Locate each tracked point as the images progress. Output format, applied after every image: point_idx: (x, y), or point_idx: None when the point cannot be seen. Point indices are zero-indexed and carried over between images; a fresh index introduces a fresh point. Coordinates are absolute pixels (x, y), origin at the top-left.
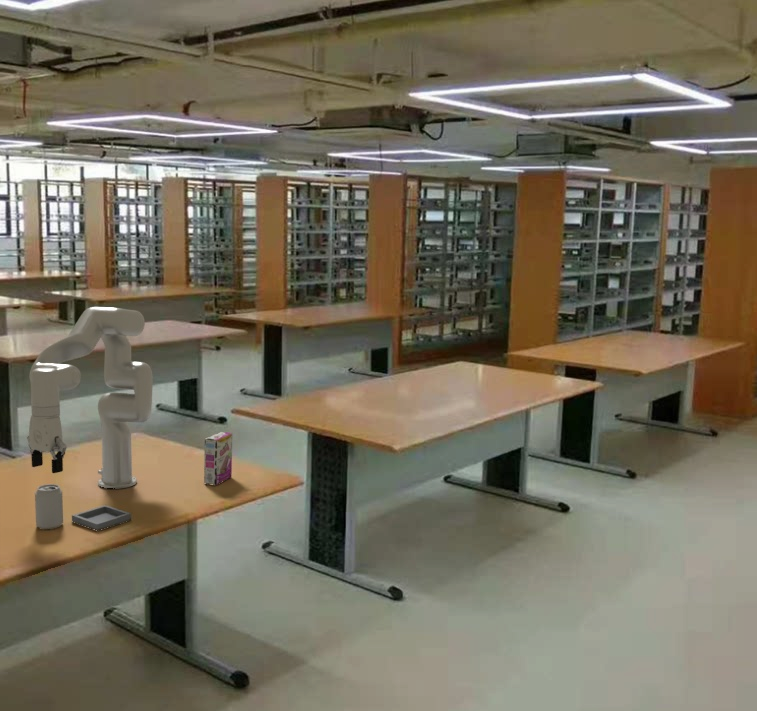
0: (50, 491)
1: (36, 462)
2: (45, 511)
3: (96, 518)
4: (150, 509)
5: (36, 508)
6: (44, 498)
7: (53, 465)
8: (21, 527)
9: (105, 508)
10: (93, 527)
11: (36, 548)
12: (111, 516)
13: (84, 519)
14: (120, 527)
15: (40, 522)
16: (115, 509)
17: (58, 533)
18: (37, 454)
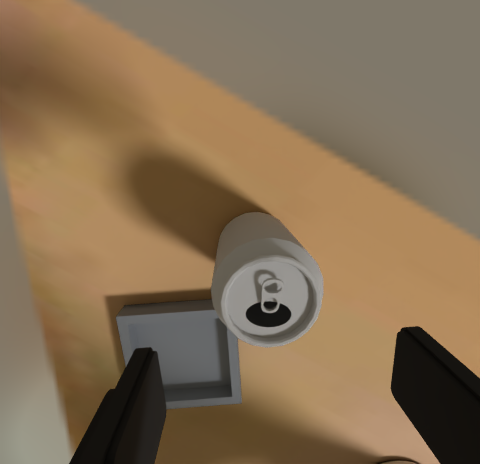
0: (224, 286)
1: (416, 374)
2: (228, 235)
3: (201, 347)
4: (178, 455)
5: (267, 224)
6: (229, 249)
7: (109, 405)
8: (304, 187)
9: (230, 392)
10: (138, 308)
11: (117, 127)
12: (187, 377)
13: (178, 314)
14: (114, 356)
15: (243, 216)
16: (190, 402)
17: (185, 232)
18: (478, 458)
